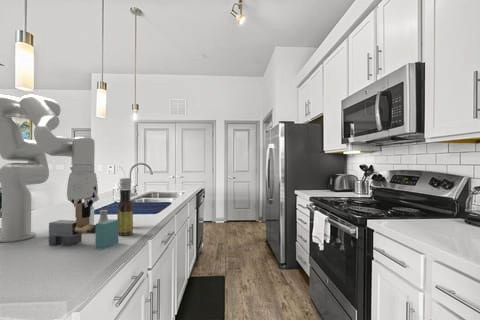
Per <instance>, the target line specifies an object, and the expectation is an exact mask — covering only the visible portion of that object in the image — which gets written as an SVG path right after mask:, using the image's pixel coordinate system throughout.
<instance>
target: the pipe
mask: <svg viewBox="0 0 480 320" xmlns="http://www.w3.org/2000/svg"><path fill="white" fill-rule="evenodd" d="M119 168H120V169H121V170H122V171H123V173H124V177H120V178H119V182H118V184H119V191H120V190H121V189H130V190H131V184H132V178H131V177H126V172H125V170H124V169H123V168H122V167H121V166H119ZM120 195H121V194H120V193H119V199H120V198H121V196H120Z"/></svg>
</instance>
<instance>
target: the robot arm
mask: <svg viewBox="0 0 480 320" xmlns="http://www.w3.org/2000/svg"><path fill="white" fill-rule="evenodd" d="M60 115H61V106H60V105H59V103H58V101H55V100H54V99H51V98H47V97H45V96H44V97H43V96H39V95H36V94H26V95H23V96H22V97H21V98H20V97H16V96H13V95H12V96H10V95H5V94H0V157H1V158H2V159H3V160H4V161H12V162H10V163H6V164H4V165H3V166H1V167H0V187H1V224H0V225H1V227H0V243H9V242H10V243H12V242H17V241H18V242H19V241H25V240H28V239H31V238H34V237H35V236H36V232H34V231H32V193H31V191H30V189H29V188H28V187H27V186H28V185H31V186H32V185H42V184H44V183H46V182H47V181H48V180H49V176H50V169H49V165H48V160H47V155H48V156H53V157H70V158H71V166H70V167H69V168H70V170H71V172H69V175H68V180H67V189H66V198H67V201H69V202H71V203H72V205H73V207H74V208H76V203H82V202H84V206H85V207H83V218H86V217H90V211H91V206H92V205H93V204H94V203H96V202H98V201H99V200H100V198H99V196H98V193H99V192H98V191H99V189H98V188H99V186H98V177H97V173H96V172H95V155H96V154H95V146H96V145H95V139H94V138H92V137H87V136H76V137H66V136H57V135H55V134H53V133H52V132H53V131H54V130H55V129H57V128H58V127H59V125H60V118H59V116H60ZM13 118H18V119H24V120H30V121H31V123H32V124H33V125H34V126H35V127H34V131H33V137H34V140H31V139H25V138H24V137H23V133H22V132H23V131H22V128H21V127H20V125H19V124H18V123H17V122H16V121H15V120H14V119H13ZM46 154H47V155H46ZM14 161H15V162H14ZM20 161H21V162H20ZM75 218H76V215H75Z"/></svg>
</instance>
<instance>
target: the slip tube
mask: <svg viewBox="0 0 480 320" xmlns="http://www.w3.org/2000/svg"><path fill="white" fill-rule="evenodd" d="M83 207H85V206H84V201H82V203H76V207H75V216H76V217H75V221H76V224H73V233H82V234H91V235H92V234H94V235H95V234H96V224H94V225H89V219H90V217H86V218H83Z"/></svg>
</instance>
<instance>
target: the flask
mask: <svg viewBox="0 0 480 320" xmlns="http://www.w3.org/2000/svg"><path fill="white" fill-rule="evenodd" d="M98 212H99V219H98V221H97V223H100V222H103V221H107V220H109V218H108V212H109V210H107V209H101V210H99V211H98Z"/></svg>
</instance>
